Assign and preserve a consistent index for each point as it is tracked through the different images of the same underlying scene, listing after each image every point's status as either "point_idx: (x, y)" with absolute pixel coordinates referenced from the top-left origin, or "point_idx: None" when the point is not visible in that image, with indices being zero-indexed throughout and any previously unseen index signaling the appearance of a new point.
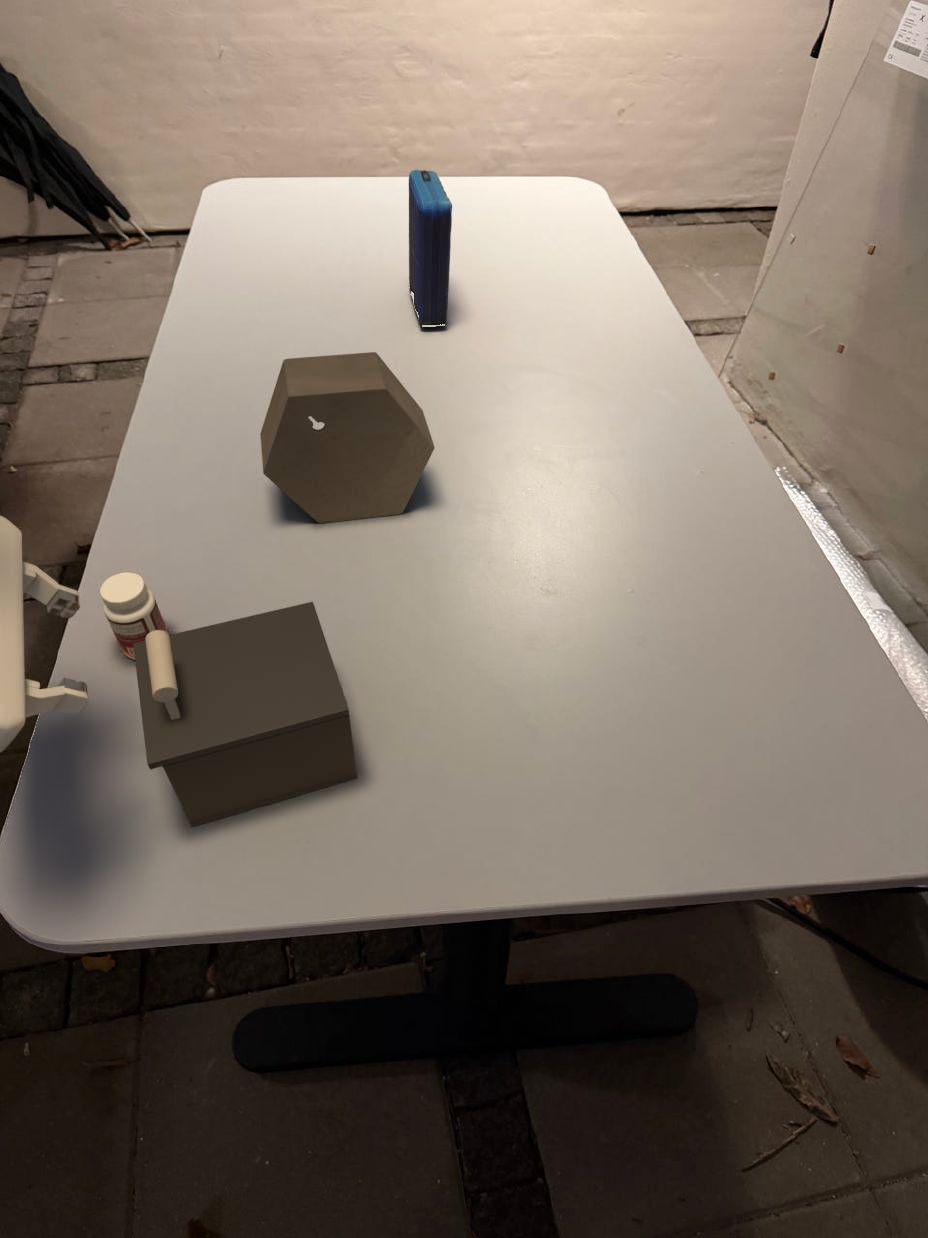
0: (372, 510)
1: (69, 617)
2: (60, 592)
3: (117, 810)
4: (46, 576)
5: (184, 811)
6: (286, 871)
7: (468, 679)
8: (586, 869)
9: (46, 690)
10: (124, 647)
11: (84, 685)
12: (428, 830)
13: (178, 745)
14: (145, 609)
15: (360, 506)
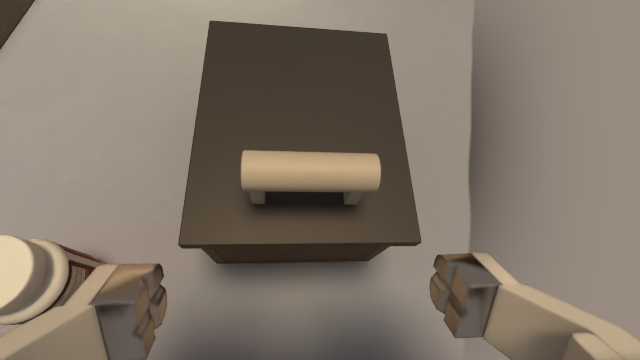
0: (16, 4)
1: (166, 306)
2: (109, 299)
3: (328, 338)
4: (12, 338)
5: (377, 254)
6: (427, 188)
7: (284, 19)
8: (456, 20)
9: (575, 316)
10: None
11: (451, 255)
12: (412, 87)
13: (399, 201)
14: (55, 251)
15: (3, 6)
